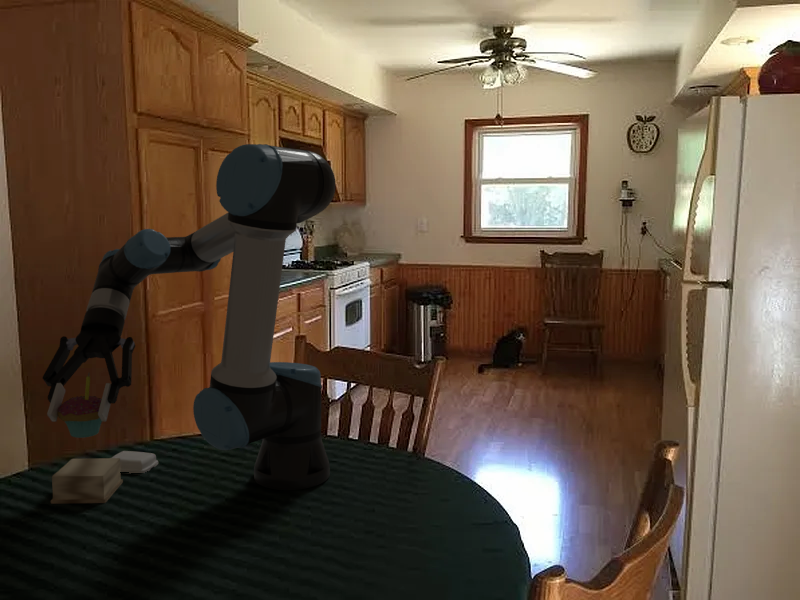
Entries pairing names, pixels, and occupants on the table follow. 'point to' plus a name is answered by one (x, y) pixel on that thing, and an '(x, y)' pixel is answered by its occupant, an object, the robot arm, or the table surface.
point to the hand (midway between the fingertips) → (76, 417)
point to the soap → (136, 461)
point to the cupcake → (81, 414)
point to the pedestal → (86, 481)
